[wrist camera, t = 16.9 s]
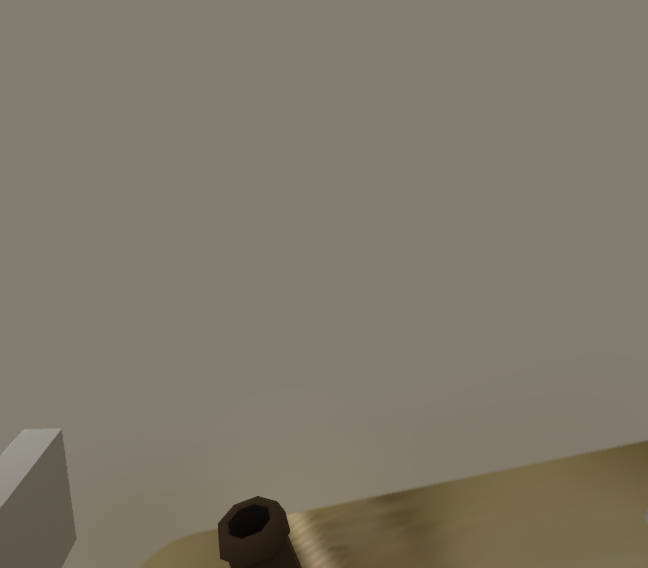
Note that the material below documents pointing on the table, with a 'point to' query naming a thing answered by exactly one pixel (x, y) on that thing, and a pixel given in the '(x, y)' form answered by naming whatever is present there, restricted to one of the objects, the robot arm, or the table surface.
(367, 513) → the table surface
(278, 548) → the beer bottle
